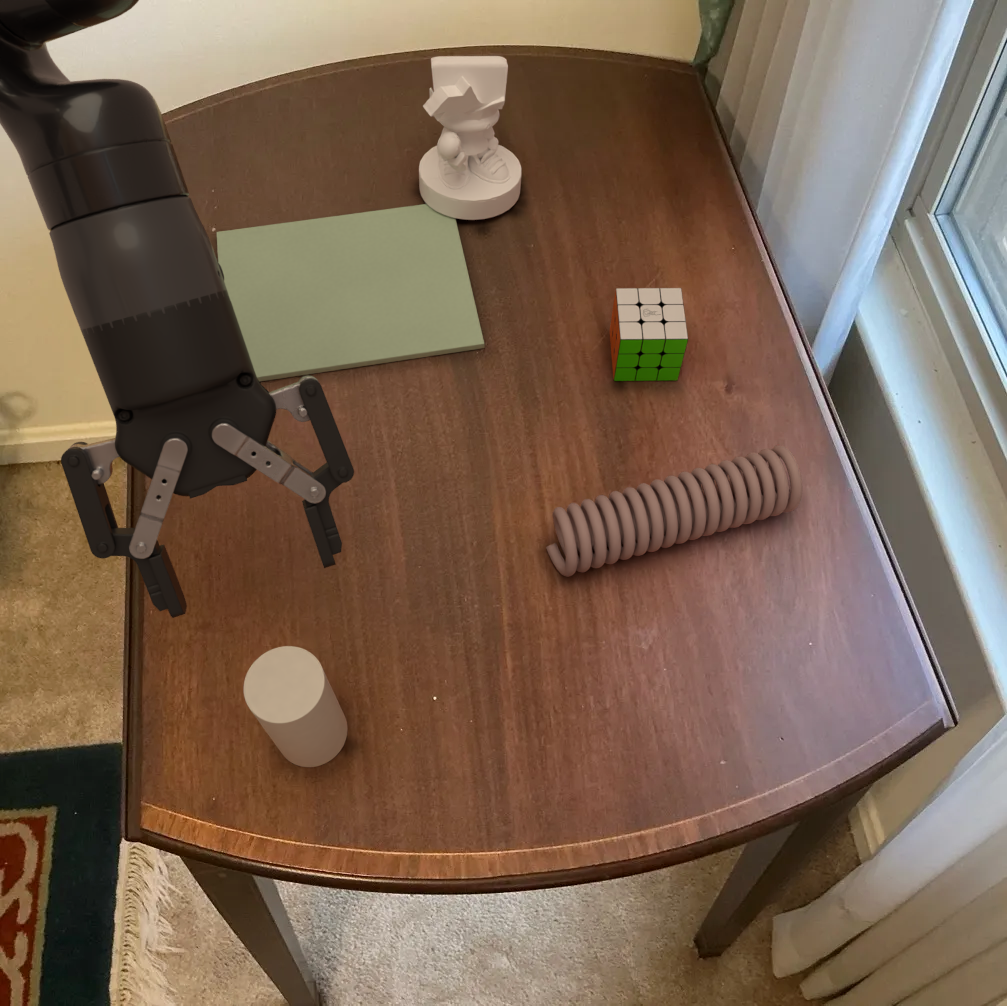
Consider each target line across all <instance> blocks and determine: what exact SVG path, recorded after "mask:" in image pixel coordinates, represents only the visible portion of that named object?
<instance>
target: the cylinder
mask: <svg viewBox="0 0 1007 1006" xmlns="http://www.w3.org/2000/svg"><path fill="white" fill-rule="evenodd" d="M243 697H244V700H245V703H246V705H247V708H248V709H249V710H250V712H251V713H252V715H253V716H254V718H255V719H256V720H257V721H258V723H259V724H260V725H261V727H262V729H264V732H265V733H266V734H267V735H268V736H269V738H270V740H271V741H272V742H273V744H274V745H275V746H276V748H277V749H278V751H279V752H280V753H281V754H282V756H283V757H284V758H285V759H286V760H287V762H290V763H291V764H293V765H296V766H297V767H301V768H302V767H303V768H315V767H320V766H323V765H325V764H327V763H328V762H330V761H332V760H333V759H335V758H336V756H337V755H338V754H339V753H340V752H341V751H342V749H343V747H344V745H345V743H346V741H347V736H348V721H347V718H346V715H345V714H344V711H343V710H342V707H341V704H340V703H339V701H338V698H337V695H336V693H335V691H334V689H333V687H332V686H331V683H330V681H329V679H328V676H327V674H326V672H325V669H324V668H323V666H322V663H321V662H320V661H319V659H318V658H317V657H316V656H315V655H314V654H313V653H312V652H311V651H309V650H307V649H305V648H303V647H299V646H294V645H283V646H278V647H274V648H272V649H269V650H267V651H266V652H264V653H262V654H261V655H260V656H259V657H257V658H256V659H255V660H254V661H253V663H252V664H251V665H250V666H249V669H248V670H247V672H246V673H245V677H244V681H243Z"/></svg>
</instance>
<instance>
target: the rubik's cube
mask: <svg viewBox="0 0 1007 1006" xmlns="http://www.w3.org/2000/svg"><path fill="white" fill-rule="evenodd" d="M684 304H685V303H684V296H683V288H682V287H640V288H639V287H620V288H619V287H616V288H615V291H614V298H613V305H612V311H611V319H610V325H609V332H608V333H609V342H610V355H611V367H612V378H613V382H648V381H649V382H651V381H652V382H656V381H657V382H658V381H660V382H661V381H667V382H668V381H671V382H672V381H678V380H679V377H680V373H681V369H682V365H683V361H684V358H685V353H686V349H687V346H688V342H689V333H688V325H687V320H686V312H685V305H684Z"/></svg>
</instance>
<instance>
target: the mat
mask: <svg viewBox="0 0 1007 1006" xmlns="http://www.w3.org/2000/svg"><path fill="white" fill-rule="evenodd" d="M216 248H217V249H216V251H217V262H218V263H219V264H220V266H221V268H222V271H223V274H224V282H225V285H226V288H227V291H228V294H229V298H230V301H231V303H232V306H233V309H234V312H235V315H236V318H237V320H238V323H239V326H240V329H241V332H242V335H243V338H244V341H245V344H246V347H247V350H248V353H249V356H250V359H251V362H252V365H253V368H254V371H255V374H256V376H257V379H258V380H259V382H260V383H261V382H264V381H266V382H267V381H273V380H279V379H280V380H281V379H286V378H294V377H300V376H305V375H312V374H319V373H327V372H333V371H340V370H346V369H352V368H353V369H354V368H362V367H368V366H372V365H373V366H374V365H380V364H387V363H393V362H401V361H408V360H414V359H420V358H427V357H433V356H435V357H436V356H442V355H447V354H455V353H461V352H468V351H475V350H481V349H482V350H483V349H485V340H484V336H483V331H482V327H481V323H480V318H479V314H478V310H477V305H476V300H475V297H474V292H473V288H472V283H471V279H470V276H469V270H468V267H467V266H468V265H467V262H466V257H465V252H464V249H463V244H462V240H461V236H460V231H459V227H458V223H457V218H453V217H449V216H446V215H443V214H441V213H439V212H437V211H435V210H434V209H432V208H431V207H430V206H429V205H428V204H427V203H421V204H416V205H408V206H407V205H406V206H400V207H393V208H386V209H378V210H370V211H364V212H355V213H348V214H340V215H332V216H326V217H317V218H311V219H303V220H296V221H288V222H281V223H280V222H279V223H274V224H273V223H272V224H265V225H259V226H252V227H251V226H250V227H244V228H236V229H229V230H222V231H221V230H220V231H216Z"/></svg>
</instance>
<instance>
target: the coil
mask: <svg viewBox="0 0 1007 1006" xmlns="http://www.w3.org/2000/svg"><path fill="white" fill-rule="evenodd" d="M783 463H784V465H783ZM754 467H755V468H754ZM785 467H786V468H785ZM786 470H787V472H786ZM787 473H788V475H787ZM788 478H789V479H788ZM729 481H730V482H729ZM715 483H716V484H715ZM789 484H790V485H789ZM716 486H717V487H716ZM789 487H790V488H789ZM717 490H718V491H717ZM718 493H719V495H720V498H719V495H718ZM733 494H734V496H733ZM704 495H705V496H704ZM802 495H803V478H802V472H801V470H800V466H799V463H798V461H797V459H796V457H795V456H794V454H793V452H792V451H791V449H789V448H788V447H787V446H785V445H782V444H777V445H774V446H773V447H771V449H770V448H763V449H761V450H759V452H749V453H747V454H746V455H745V456H740V455H739V456H735V457H734V458H732V460H728V459H724V460H721V461H720V462H719V463H718V464H715V463H709V464H707V465H706V466H705V467H704V468H702V467H695V468H693V470H691V472H689V471H681V472H680V473H679V474H678V475H677V476H675V475H672V474H670V475H668V476H666V477H665V478H664V480H662V479H659V478H657V479H656V478H655V479H653V480H652V481H651V482H650V484H648V483H646V482H642V483H639V484H638V485H637V487H636V488H634V487H632V486H628V487H625V488H624V489H623V490H622V492H621V491H618V490H613V491H611V492H610V493H609V496H607V495H604V494H599V495H597V496H596V497H595V500H592V499H591V498H585V499H583V500H582V501H581V503H580V505H579V504H578V503H576V502H571V503H569V504H568V505H567V508H566V509H565V508H564V507H562V506H556V507H555V508H554V509H553V511H552V520H553V526H554V530H555V533H556V537H557V539H558V543H559V544H560V545H559V546H560V548H561V551H562V552H563V554H564V556H565V559H564V557H563V555H562V553H561V551H560V549H559V547H558V544H557V542H554V543H552V544H550V545H547V546H545V548H546V549H545V550H546V551H547V554H548V556H549V558H550V560H551V562H552V564H553V565H554V567H555V568H556V570H557V571H558V572H559V574H561V576H564V577H572V576H573V575H574V574H575V573H576V572H578V573H585V572H587V571H588V570H590V568H593V569H600V568H602V566H604V564H607V565H613V564H615V563H617V561H619V560H622V561H626V560H629V559H630V558H632V556H636V557H639V556H643V555H644V554H645V553H646V552H649V553H652V552H656V551H658V550H659V549H660V548H663V549H667V548H670V547H672V546H673V545H674V544H677V545H679V544H684V543H686V542H687V541H688V540H691V541H694V540H698V539H699V538H701V537H702V536H704V537H707V536H712V535H714V533H715V532H718V533H722V532H725V531H727V530H728V529H729V528H731V529H733V528H735V529H736V528H739V527H740V526H742V525H748V524H753V523H754V522H756V520H757V521H763V520H766V519H768V518H769V517H776V516H780V515H781V514H782V513H791V512H793V511H795V510H796V509H797V508H798V506H799V505H800V503H801V499H802ZM607 547H608V548H607ZM593 551H594V552H593ZM578 553H579V555H578Z"/></svg>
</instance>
